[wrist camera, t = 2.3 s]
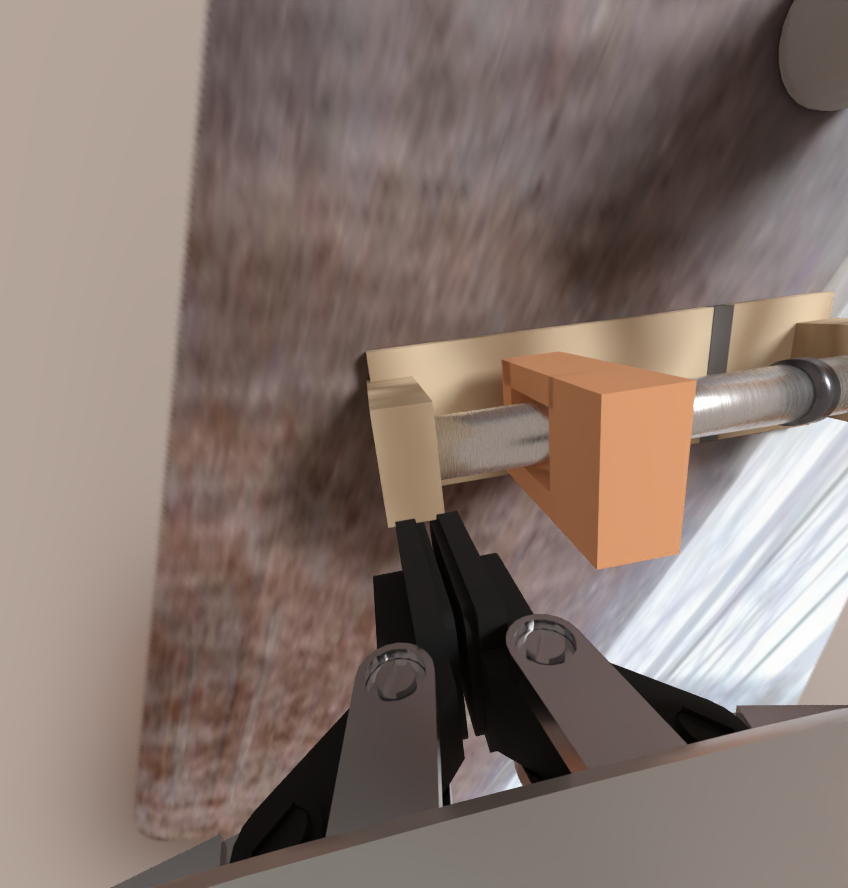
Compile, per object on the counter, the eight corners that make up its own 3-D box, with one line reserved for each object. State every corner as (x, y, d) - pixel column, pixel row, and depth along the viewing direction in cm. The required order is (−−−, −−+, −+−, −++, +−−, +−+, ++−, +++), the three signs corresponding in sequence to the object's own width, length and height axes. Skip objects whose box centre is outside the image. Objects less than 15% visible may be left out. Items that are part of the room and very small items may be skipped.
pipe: (405, 473, 20) (414, 502, 17) (396, 409, 19) (404, 428, 16) (858, 399, 23) (935, 413, 20) (872, 339, 22) (955, 345, 19)
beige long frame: (383, 489, 24) (393, 558, 18) (361, 351, 22) (363, 370, 15) (799, 420, 27) (945, 457, 20) (823, 291, 25) (999, 284, 18)
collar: (507, 471, 22) (597, 569, 14) (501, 359, 20) (601, 394, 12) (560, 462, 23) (679, 553, 14) (559, 351, 21) (696, 380, 12)
